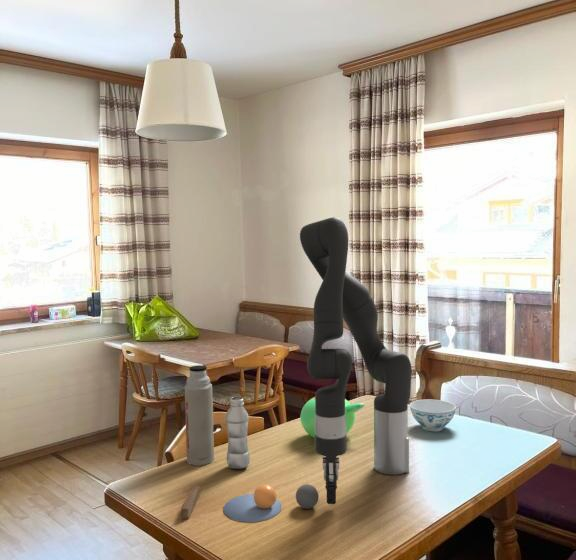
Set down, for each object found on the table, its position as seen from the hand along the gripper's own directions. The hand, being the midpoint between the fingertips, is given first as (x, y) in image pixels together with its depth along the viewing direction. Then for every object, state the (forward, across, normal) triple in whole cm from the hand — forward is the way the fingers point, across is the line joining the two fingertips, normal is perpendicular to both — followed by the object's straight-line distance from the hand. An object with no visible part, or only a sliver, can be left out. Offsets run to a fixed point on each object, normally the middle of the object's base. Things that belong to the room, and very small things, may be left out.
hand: (331, 502), depth 136 cm
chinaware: (+2, +58, -35) cm, 68 cm away
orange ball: (-1, 0, +16) cm, 16 cm away
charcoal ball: (-1, 0, +6) cm, 6 cm away
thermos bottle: (+2, +29, +38) cm, 48 cm away
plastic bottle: (+2, +24, +26) cm, 35 cm away
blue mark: (+2, 0, +19) cm, 19 cm away
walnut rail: (+2, 0, +34) cm, 34 cm away
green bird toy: (+2, +48, 0) cm, 48 cm away
